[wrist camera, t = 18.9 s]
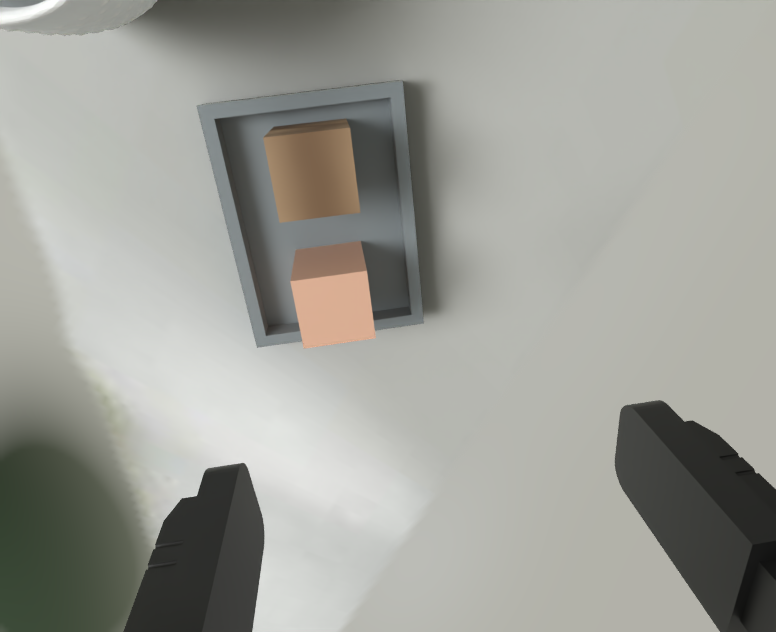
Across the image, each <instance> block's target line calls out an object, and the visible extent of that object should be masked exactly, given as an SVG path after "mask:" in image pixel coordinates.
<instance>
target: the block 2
mask: <svg viewBox="0 0 776 632" xmlns="http://www.w3.org/2000/svg"><path fill="white" fill-rule="evenodd" d="M290 283H291V287H292V292H293V297H294V302H295V307H296V312H297V317H298V322H299V327H300V332H301V337H302V342H303V347H304V348H311V347H318V346H325V345H332V344H339V343H345V342H352V341H359V340H366V339H373V338H376V336H375V328H374V321H373V313H372V306H371V298H370V291H369V283H368V275H367V269H366V264H365V259H364V254H363V250H362V245H361V241H356V242H349V243H341V244H334V245H326V246H319V247H312V248H304V249H297V250H296V251H295V257H294V263H293V268H292V274H291V280H290Z"/></svg>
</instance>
